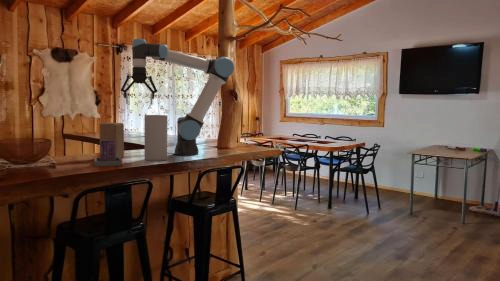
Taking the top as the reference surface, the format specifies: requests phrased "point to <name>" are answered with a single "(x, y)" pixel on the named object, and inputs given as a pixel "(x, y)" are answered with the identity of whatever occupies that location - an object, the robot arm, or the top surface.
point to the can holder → (108, 162)
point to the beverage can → (107, 150)
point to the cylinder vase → (155, 137)
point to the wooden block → (113, 136)
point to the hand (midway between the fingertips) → (139, 104)
